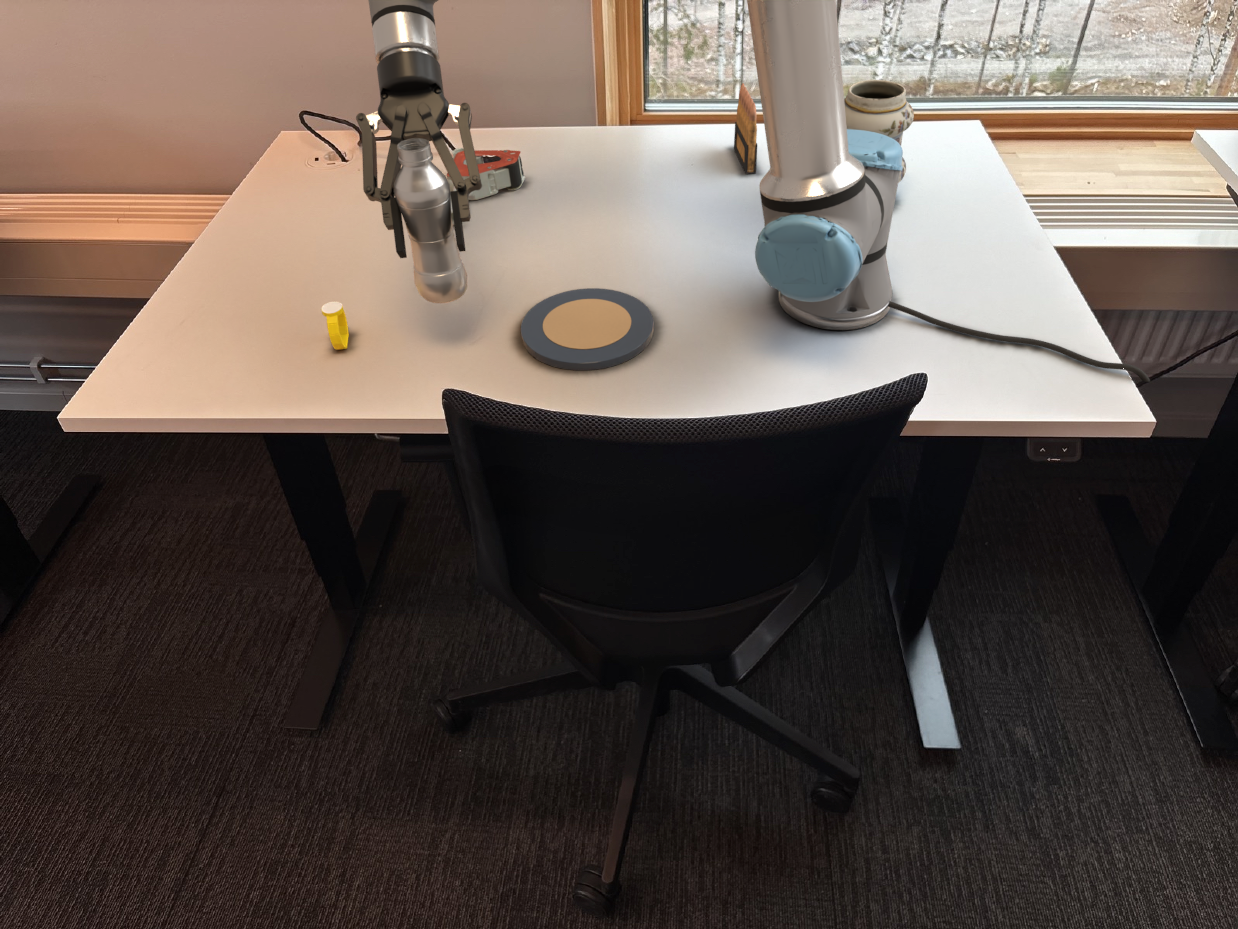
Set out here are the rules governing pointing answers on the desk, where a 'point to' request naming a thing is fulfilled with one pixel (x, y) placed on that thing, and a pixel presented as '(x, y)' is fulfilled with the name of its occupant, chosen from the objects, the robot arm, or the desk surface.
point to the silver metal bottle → (429, 223)
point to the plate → (587, 329)
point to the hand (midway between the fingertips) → (431, 251)
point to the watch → (336, 324)
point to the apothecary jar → (879, 110)
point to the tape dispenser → (491, 172)
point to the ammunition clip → (746, 132)
